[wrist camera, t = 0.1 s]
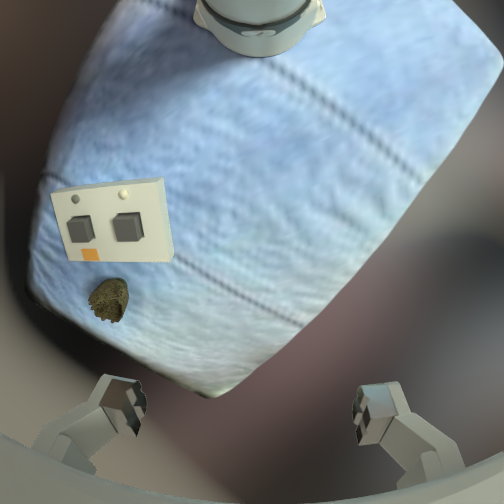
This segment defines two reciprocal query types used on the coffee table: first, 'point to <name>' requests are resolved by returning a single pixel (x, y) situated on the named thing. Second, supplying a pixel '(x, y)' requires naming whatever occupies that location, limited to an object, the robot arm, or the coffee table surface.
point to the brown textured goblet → (110, 299)
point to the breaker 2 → (128, 227)
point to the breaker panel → (107, 208)
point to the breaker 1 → (81, 229)
